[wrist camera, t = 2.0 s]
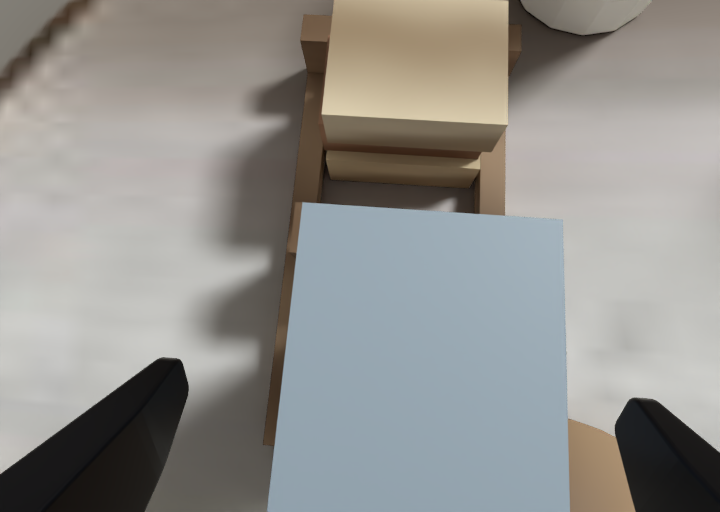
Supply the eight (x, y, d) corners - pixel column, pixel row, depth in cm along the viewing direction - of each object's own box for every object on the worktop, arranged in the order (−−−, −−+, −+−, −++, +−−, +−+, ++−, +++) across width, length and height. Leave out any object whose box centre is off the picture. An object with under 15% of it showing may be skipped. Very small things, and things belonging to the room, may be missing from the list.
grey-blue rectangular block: (424, 417, 17) (572, 596, 4) (342, 409, 17) (261, 563, 4) (429, 313, 17) (563, 219, 5) (350, 307, 18) (303, 201, 5)
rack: (495, 460, 16) (549, 506, 11) (269, 439, 16) (225, 475, 12) (499, 73, 20) (541, -19, 15) (313, 63, 20) (294, -30, 15)
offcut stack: (468, 195, 18) (511, 124, 13) (327, 185, 19) (308, 113, 13) (470, 103, 19) (511, 0, 14) (336, 96, 20) (322, -8, 14)
